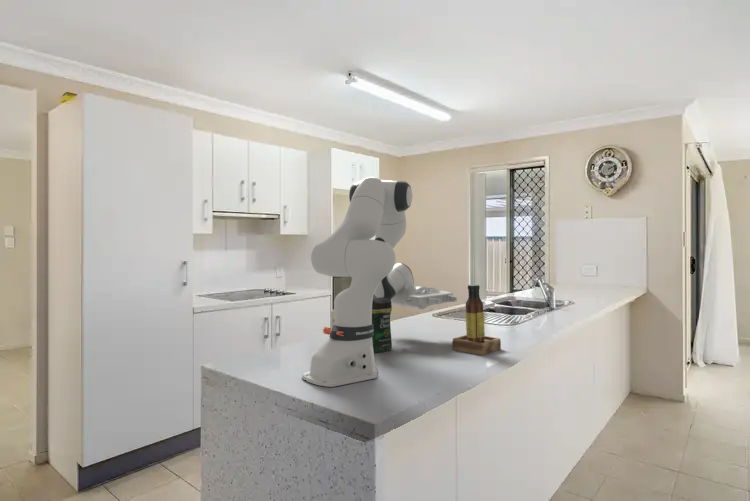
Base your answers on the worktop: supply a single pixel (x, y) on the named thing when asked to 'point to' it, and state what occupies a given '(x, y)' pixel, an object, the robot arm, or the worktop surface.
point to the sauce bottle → (474, 315)
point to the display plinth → (476, 345)
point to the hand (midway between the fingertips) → (448, 300)
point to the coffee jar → (381, 324)
